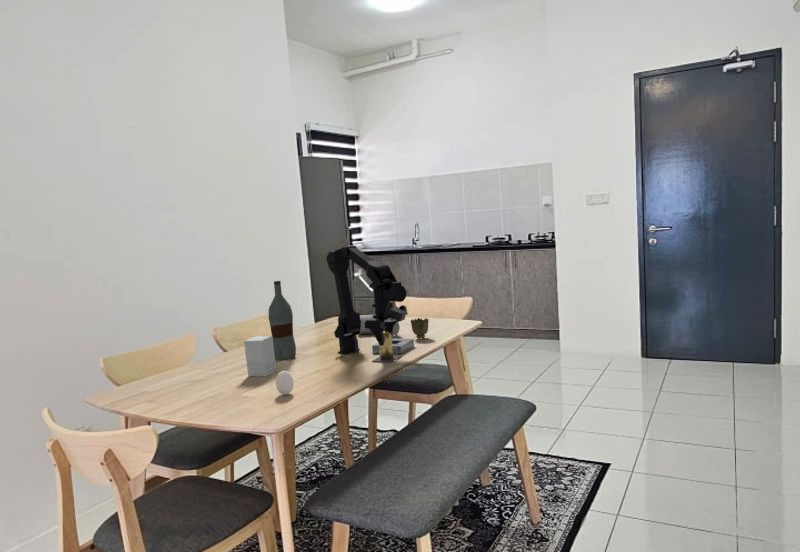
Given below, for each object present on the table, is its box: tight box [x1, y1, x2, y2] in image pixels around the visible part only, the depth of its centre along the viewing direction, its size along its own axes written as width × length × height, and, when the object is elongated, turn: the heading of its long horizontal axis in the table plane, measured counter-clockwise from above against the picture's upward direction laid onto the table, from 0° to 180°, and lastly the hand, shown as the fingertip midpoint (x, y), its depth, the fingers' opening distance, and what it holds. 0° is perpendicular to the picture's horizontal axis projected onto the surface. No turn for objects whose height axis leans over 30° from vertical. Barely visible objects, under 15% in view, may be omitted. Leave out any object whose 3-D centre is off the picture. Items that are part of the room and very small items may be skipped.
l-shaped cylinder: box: [359, 314, 401, 337], centre depth 252 cm, size 18×10×20 cm
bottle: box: [267, 280, 297, 362], centre depth 219 cm, size 9×9×30 cm
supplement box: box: [243, 335, 277, 377], centre depth 200 cm, size 7×7×13 cm
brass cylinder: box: [379, 331, 395, 360], centre depth 206 cm, size 5×5×10 cm
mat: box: [371, 355, 403, 363], centre depth 206 cm, size 8×8×1 cm
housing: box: [371, 338, 415, 354], centre depth 220 cm, size 12×12×3 cm
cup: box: [410, 317, 429, 339], centre depth 237 cm, size 8×7×8 cm
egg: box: [275, 370, 295, 396], centre depth 173 cm, size 5×5×7 cm
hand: (385, 343), depth 206 cm, fingers open, 6 cm apart
